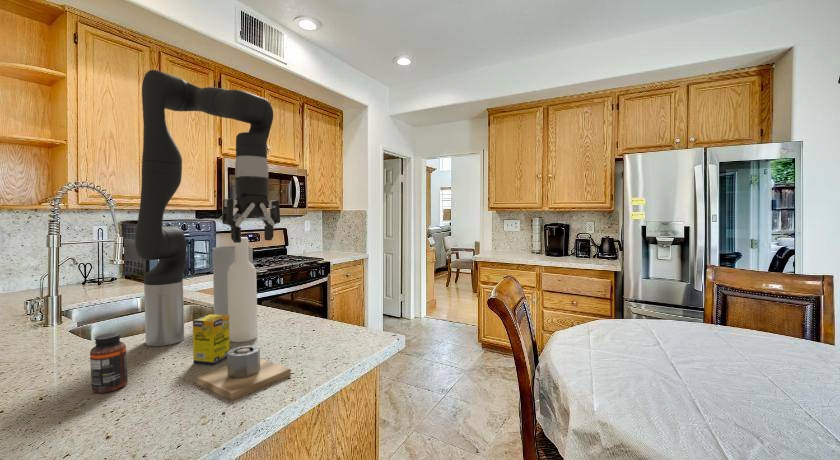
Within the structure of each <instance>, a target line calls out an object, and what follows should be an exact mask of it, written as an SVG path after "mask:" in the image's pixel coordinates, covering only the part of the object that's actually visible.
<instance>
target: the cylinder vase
mask: <svg viewBox="0 0 840 460" xmlns="http://www.w3.org/2000/svg"><path fill="white" fill-rule="evenodd" d="M248 259H249V262H250V263H252V264H253V265H254V261H253V259H254V258H253V246H250V245H248ZM234 262H235V245H231V246H230V245H229V246H228V245H227V246H216V247H212V269H213V270H212V275H213V276H212V277H213V280H212V281H213V314H216V315H228V279H227V273H228V270H229V267H230V266H231V265H232V264H233V263H234Z"/></svg>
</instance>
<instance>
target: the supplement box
mask: <svg viewBox="0 0 840 460" xmlns="http://www.w3.org/2000/svg"><path fill="white" fill-rule="evenodd" d="M192 340H193V341H192V345H193V346H192V347H193V348H192V352H193V356H192V357H193V358H192V359H193V364H199V365H209V366H214V365H217V363H220V362H221V361H223V360H226V359H227V353H228V352H229V351H230V349H231V348H230V345H231V344H230V342H231V341H229V315H216V314H214V313H212V314H210V313H209V314H207V315H204V316H203V317H202V316H201V317H199V318H197V319H196V318H195V319H193V320H192Z"/></svg>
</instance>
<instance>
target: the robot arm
mask: <svg viewBox="0 0 840 460" xmlns="http://www.w3.org/2000/svg"><path fill="white" fill-rule="evenodd" d="M141 103H142V119H143V143H142V145H143V147H142V156H141V157H142V159H141V188H140V202H139V211H138V216H137V217H138V218H137V223H136V227H135V228H136V229H135V230H136V231H135V237H134V244H135V245H134V246H135V250H136V254H137V255H138V256H139V258H141V259H142V260H144V261H155V260H158V262H157V264H156V265H155V266H154V268H152V269H150V270H148V271H147V272H146V273H145V274H144V275H143V290H144V291H143V294H144V295H143V296H144V297H143V298H144V319H145V320H144V324H145V325H144V326H145V329H144V330H145V331H144V333H145V345H146V346H147V347H164V346H170V345H174V344H177V343H180V342H182V341H183V340H185V320H184V319H185V315H184V314H185V311H184V310H185V308H184V307H185V306H184V281H183V280H184V277H183V276H184V273H185V271H186V266H187V265H186V264H187V263H186V262H187V261H186V259H187V257H186V256H187V240H186V239H187V238H186V237H185V233H184V232H183V230H182V229H181V228H179V227H177V226H176V225H175V226H173V225H172V226H171V225H168V226H167V225H165V226H164V225H163V220H164V219H163V218H164V213H165V210H166V207H167V206H168V204H169V202H170V201H171V200H172V198H173V196H174V195H175V193H176V192H177V190H178V188H179V187H180V185H181V182H182V174H183V173H182V172H183V158H182V154H181V152H180V150H179V147H178V146H177V143H175V140H174V139H173V137H172V135H171V133H170V131H169V129H168V126H167V122H166V113H165V112H166V110H170V111H173V112H202V113H205V114H208V115H211V116H215V117H218V118H224V119H232V120H235V121H239V122H242V123H246V124H250V126H249V130H248V131H244V132H242V131H241V132H240V133H237V135H236V136H235V164H234V165H235V166H234V174H235V176H234V178H235V195H236V198H235V199H233V198H224V199H223V200H222V215H221V217H222V218H221V223H222V224H223V225H227V226H229V227H230V240H231V241H232V242H233V244H234V243H240V242H241V237H242V233H241V232H242V228H241V224H242V223H243V222H244V221H245V220H246V219H247V218H259V219H260V220H261V221H262V222H263V224H264V227H263V228H264V229H263V230H264V231H263V232H264V233H263V234H264V237H263V238H264V240H265V241H273V238H274V226H275V225H277V224H279V223H281V213H280V212H281V211H280V210H281V209H280V200H278V199H276V200H274V199H273V200H269V197H268V196H269V191H270V190H269V188H270V187H269V183H270V182H269V164H268V144H267V143H268V140H269V136H270V132H271V128H272V125H273V120H274V109H273V106H272V104H271V102H269V100H268V99H266V98H265V97H261V96H259V95H256V94H253V93H251V92H248V91H244V90H239V89H227V88H225V89H224V88H220V87H214V86H212V87H211V86H206V87H203V88H202V87H199V86H196V85H194V84H192V83H190V82H188V81H186V80H185V79H183V78H180V77H178V76H174V75H173V74H169V73H166V72H163V71H161V70H157V69H150V70H148V71H146V73H145V74H144V77H143V78H142V84H141ZM235 207H236V209H237V210H236V212H234V209H235ZM268 208H269V211H268Z"/></svg>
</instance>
